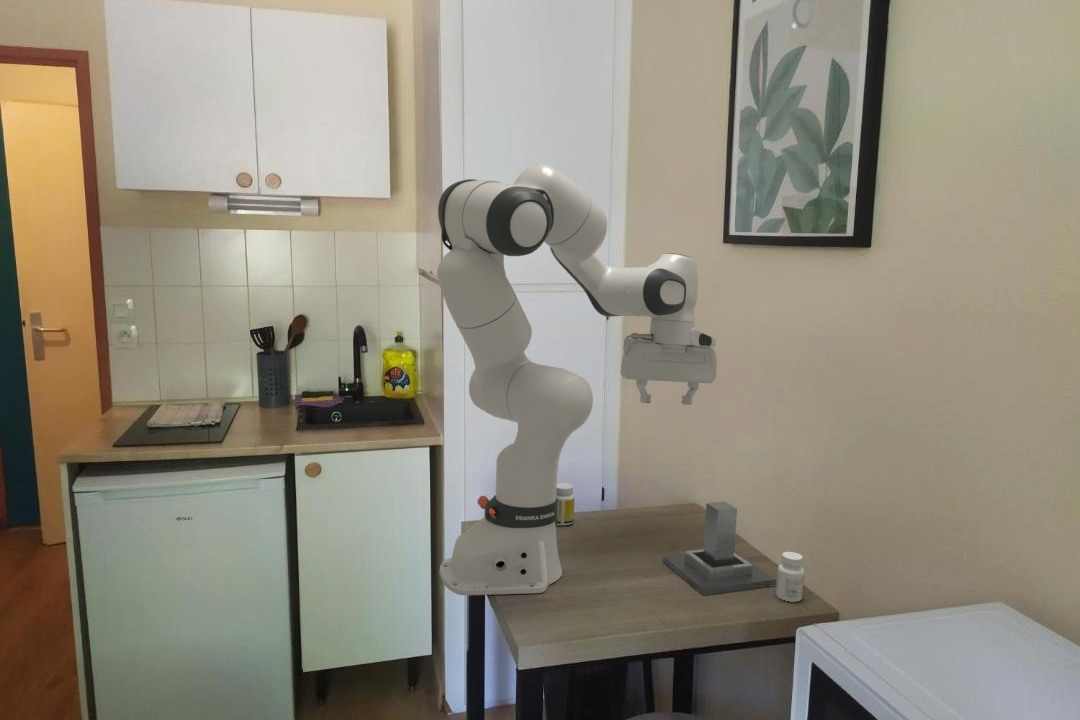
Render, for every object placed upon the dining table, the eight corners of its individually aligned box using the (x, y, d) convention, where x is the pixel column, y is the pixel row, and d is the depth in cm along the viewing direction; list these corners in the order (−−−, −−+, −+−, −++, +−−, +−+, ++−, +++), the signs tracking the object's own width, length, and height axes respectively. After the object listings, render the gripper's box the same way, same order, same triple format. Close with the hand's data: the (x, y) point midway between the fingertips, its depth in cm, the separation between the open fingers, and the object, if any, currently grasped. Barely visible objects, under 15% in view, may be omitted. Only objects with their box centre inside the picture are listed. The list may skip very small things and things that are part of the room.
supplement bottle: (574, 519, 168) (575, 483, 167) (573, 527, 164) (574, 489, 163) (552, 518, 169) (553, 481, 168) (550, 525, 164) (552, 488, 163)
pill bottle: (807, 599, 133) (811, 557, 132) (790, 605, 131) (794, 562, 130) (787, 589, 137) (790, 548, 136) (770, 594, 134) (773, 553, 133)
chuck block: (703, 595, 133) (704, 579, 133) (662, 561, 147) (663, 546, 147) (775, 585, 138) (776, 570, 138) (729, 553, 152) (730, 539, 152)
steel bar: (713, 572, 140) (718, 510, 138) (702, 564, 144) (706, 503, 142) (732, 570, 141) (737, 508, 139) (720, 561, 145) (725, 501, 143)
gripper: (631, 332, 147) (626, 403, 148) (723, 339, 154) (717, 407, 154) (618, 331, 153) (612, 400, 154) (706, 338, 160) (701, 403, 160)
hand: (666, 403), depth 154 cm, fingers open, 8 cm apart
